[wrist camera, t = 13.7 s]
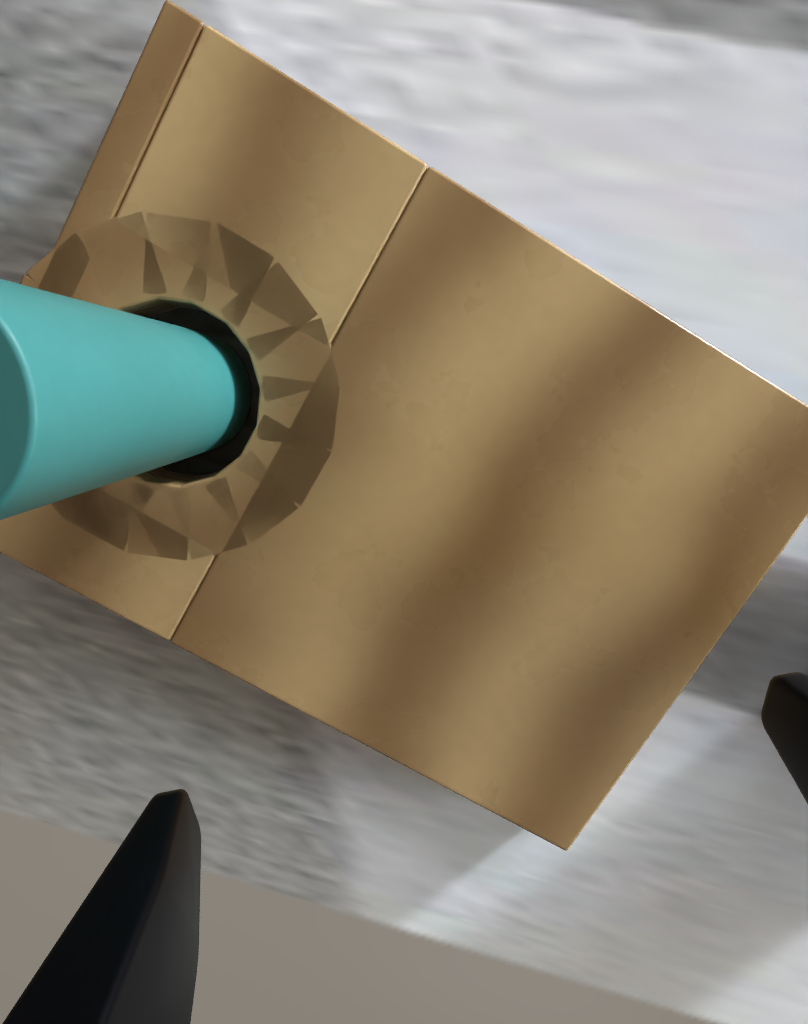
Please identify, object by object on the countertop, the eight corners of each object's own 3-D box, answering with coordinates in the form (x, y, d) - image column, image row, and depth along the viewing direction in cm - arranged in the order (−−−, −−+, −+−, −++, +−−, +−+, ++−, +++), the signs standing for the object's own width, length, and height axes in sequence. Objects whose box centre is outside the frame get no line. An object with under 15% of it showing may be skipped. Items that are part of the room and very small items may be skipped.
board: (815, 434, 19) (863, 439, 17) (551, 808, 21) (567, 852, 19) (180, 34, 17) (150, -13, 15) (-33, 497, 19) (-83, 510, 17)
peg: (273, 370, 18) (82, 348, 7) (218, 473, 19) (-33, 591, 8) (165, 307, 18) (-198, 187, 7) (112, 413, 18) (-298, 453, 8)
